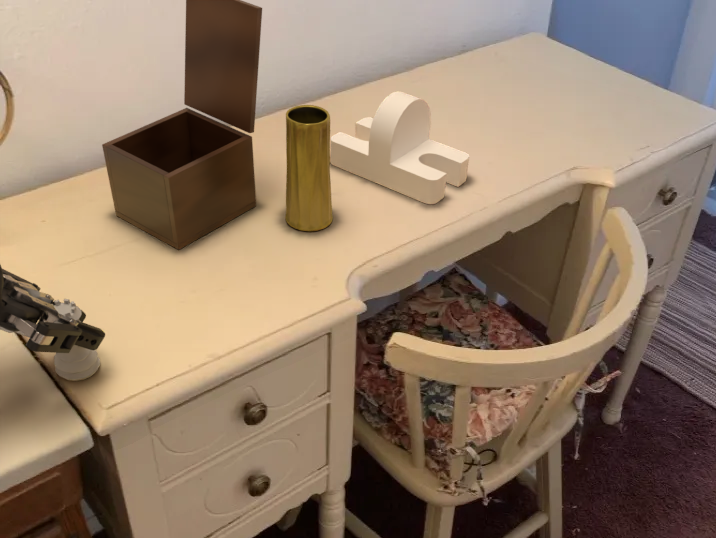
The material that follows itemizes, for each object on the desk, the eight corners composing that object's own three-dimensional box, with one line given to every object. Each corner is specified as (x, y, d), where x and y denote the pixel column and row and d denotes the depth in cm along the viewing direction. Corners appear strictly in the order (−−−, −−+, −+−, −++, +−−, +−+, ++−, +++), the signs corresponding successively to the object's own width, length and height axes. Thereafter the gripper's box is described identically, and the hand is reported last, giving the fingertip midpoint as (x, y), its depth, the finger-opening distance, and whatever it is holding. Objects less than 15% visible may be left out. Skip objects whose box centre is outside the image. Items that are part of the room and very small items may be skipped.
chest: (178, 250, 102) (168, 177, 95) (115, 215, 106) (101, 144, 99) (256, 206, 110) (252, 136, 103) (194, 175, 114) (186, 107, 108)
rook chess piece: (94, 349, 88) (79, 288, 82) (106, 375, 85) (91, 314, 79) (51, 361, 86) (32, 299, 81) (61, 388, 83) (43, 326, 78)
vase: (322, 236, 105) (322, 130, 95) (277, 225, 106) (273, 120, 97) (339, 212, 109) (341, 108, 100) (296, 202, 111) (294, 99, 101)
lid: (257, 8, 94) (262, 7, 94) (186, -18, 99) (191, -18, 99) (249, 133, 102) (254, 132, 103) (184, 104, 107) (188, 103, 107)
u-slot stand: (432, 206, 112) (439, 130, 104) (326, 162, 119) (327, 88, 111) (469, 178, 117) (479, 105, 110) (366, 138, 125) (369, 66, 117)
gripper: (-14, 278, 65) (146, 334, 80) (-85, 202, 72) (74, 267, 87) (-61, 357, 66) (106, 398, 81) (-126, 275, 73) (38, 327, 88)
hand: (89, 330), depth 84 cm, fingers closed on rook chess piece, 3 cm apart
